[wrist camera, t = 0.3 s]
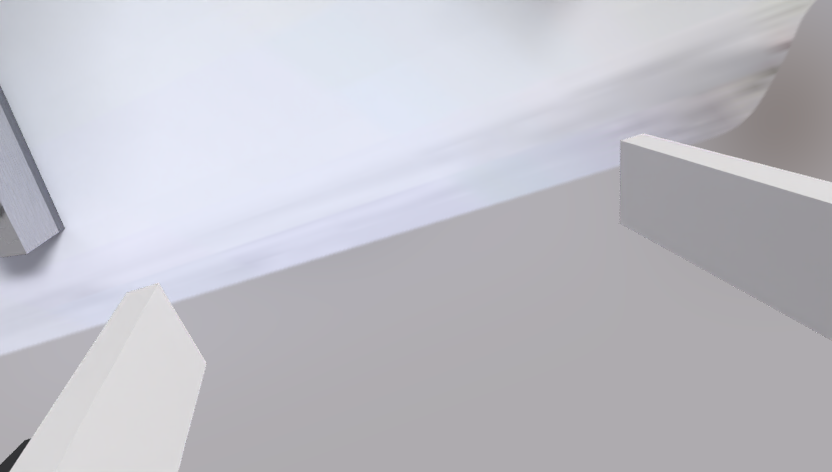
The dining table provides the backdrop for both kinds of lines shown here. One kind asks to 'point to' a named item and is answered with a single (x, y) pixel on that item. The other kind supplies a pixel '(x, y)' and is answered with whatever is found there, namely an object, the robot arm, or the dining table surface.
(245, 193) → the dining table surface
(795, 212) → the robot arm
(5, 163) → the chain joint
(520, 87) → the dining table surface
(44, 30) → the dining table surface
